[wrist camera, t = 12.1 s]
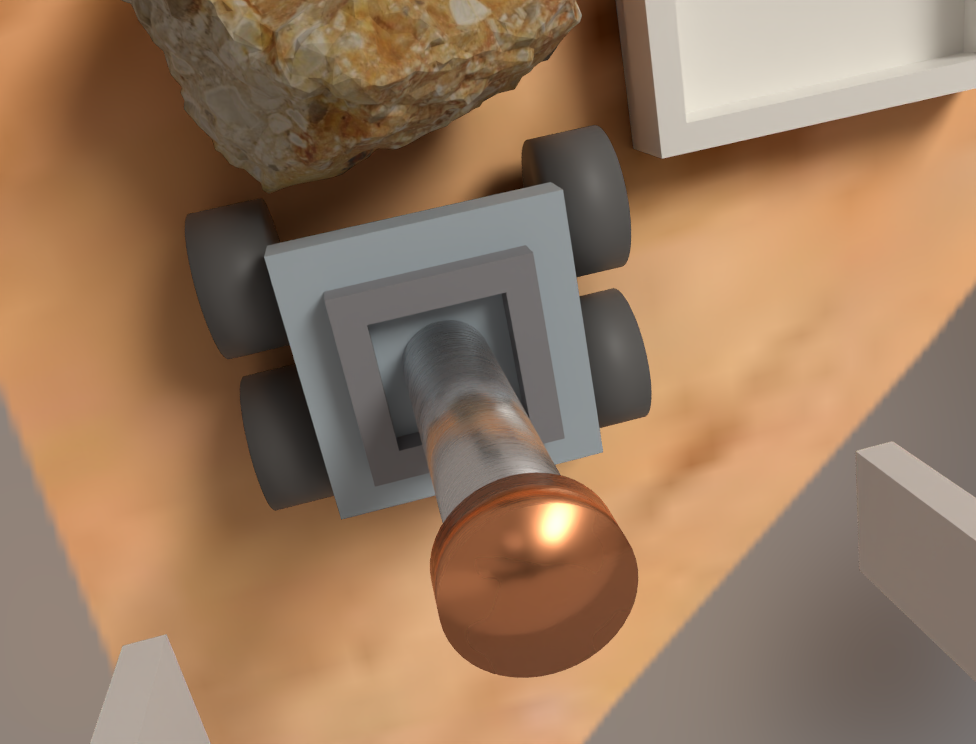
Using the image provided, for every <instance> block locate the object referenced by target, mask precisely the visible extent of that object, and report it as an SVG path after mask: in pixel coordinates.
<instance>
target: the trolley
mask: <svg viewBox="0 0 976 744" xmlns="http://www.w3.org/2000/svg"><path fill="white" fill-rule="evenodd" d="M522 179H523V187H524V188H522V189H518V190H513V191H509V192H504V193H500V194H495V195H491V196H486V197H482V198H478V199H473V200H469V201H464V202H460V203H455V204H451V205H446V206H442V207H437V208H433V209H428V210H424V211H420V212H415V213H411V214H406V215H402V216H397V217H393V218H388V219H384V220H379V221H375V222H371V223H366V224H362V225H357V226H353V227H348V228H344V229H339V230H335V231H330V232H326V233H321V234H317V235H313V236H308V237H304V238H299V239H295V240H290V241H286V242H281V243H280V241H279V237H278V234H277V231H276V228H275V225H274V223H273V220H272V217H271V215H270V212H269V210H268V207H267V205H266V203H265V202H264V200H263V199H262V198H259V199H254V200H250V201H245V202H241V203H236V204H232V205H227V206H222V207H218V208H213V209H209V210H204V211H200V212H195V213H190V214H188V215H187V216H186V220H185V240H186V248H187V254H188V260H189V265H190V269H191V274H192V278H193V282H194V286H195V289H196V293H197V296H198V300H199V303H200V306H201V309H202V312H203V315H204V318H205V320H206V323H207V326H208V328H209V331H210V333H211V335H212V337H213V340H214V342H215V344H216V345H217V347H218V349H219V351H220V352H221V354H222V355H223V356H224V357H225V358H226V359H232V358H237V357H241V356H245V355H249V354H254V353H258V352H262V351H266V350H271V349H275V348H279V347H283V346H287V345H290V347H291V350H292V354H293V357H294V360H295V364H294V365H290V366H285V367H281V368H277V369H273V370H269V371H264V372H260V373H256V374H252V375H248V376H244V377H242V379H241V382H240V403H241V411H242V418H243V424H244V430H245V434H246V439H247V443H248V448H249V452H250V456H251V459H252V463H253V466H254V469H255V472H256V476H257V478H258V481H259V484H260V487H261V489H262V492H263V494H264V496H265V498H266V500H267V502H268V504H269V505H270V507H271V508H272V509H273V510H275V511H276V510H280V509H284V508H288V507H292V506H295V505H299V504H303V503H307V502H311V501H315V500H319V499H323V498H327V497H331V496H335V500H336V503H337V507H338V510H339V513H340V517H341V520H342V519H345V518H349V517H353V516H357V515H361V514H365V513H369V512H373V511H377V510H380V509H384V508H388V507H392V506H396V505H400V504H404V503H408V502H412V501H415V500H419V499H423V498H427V497H431V496H435V491H434V488H433V484H432V480H431V476H430V472H429V469H428V465H427V461H426V457H425V453H424V450H423V446H422V442H421V438H420V434H419V430H418V427H417V423H416V419H415V415H414V411H413V408H412V404H411V400H410V396H409V392H408V389H407V385H406V381H405V377H404V373H403V367H402V361H403V355H404V351H405V348H406V346H407V344H408V343H409V341H410V339H411V338H412V337H413V336H414V335H415V334H416V333H417V332H418V331H419V330H420V329H422V328H423V327H425V326H427V325H429V324H431V323H433V322H437V321H442V320H457V321H461V322H464V323H467V324H469V325H471V326H473V327H474V328H475V329H477V330H478V331H479V332H480V333H481V334H482V335H483V337H484V338H485V340H486V342H487V343H488V345H489V347H490V349H491V351H492V352H493V354H494V356H495V358H496V360H497V361H498V363H499V365H500V367H501V369H502V370H503V372H504V374H505V376H506V378H507V379H508V381H509V383H510V385H511V387H512V388H513V390H514V392H515V394H516V396H517V397H518V399H519V401H520V403H521V405H522V407H523V408H524V410H525V412H526V414H527V416H528V417H529V419H530V421H531V423H532V425H533V426H534V428H535V430H536V432H537V434H538V435H539V437H540V439H541V441H542V443H543V444H544V446H545V448H546V450H547V452H548V453H549V455H550V457H551V459H552V461H553V462H554V464H559V463H563V462H567V461H571V460H575V459H579V458H583V457H586V456H590V455H594V454H598V453H602V452H603V448H602V442H601V435H600V429H599V428H602V427H606V426H610V425H614V424H618V423H622V422H626V421H630V420H633V419H637V418H641V417H645V416H646V415H647V414H648V413H649V410H650V406H651V379H650V371H649V365H648V360H647V355H646V351H645V347H644V343H643V339H642V336H641V333H640V330H639V327H638V324H637V321H636V319H635V316H634V314H633V312H632V310H631V308H630V306H629V304H628V302H627V300H626V299H625V297H624V296H623V295H622V293H621V292H620V291H619V290H617V289H614V288H613V289H608V290H604V291H600V292H596V293H592V294H587V295H583V296H579V291H578V285H577V278H576V277H580V276H584V275H588V274H592V273H597V272H601V271H605V270H609V269H614V268H618V267H622V266H624V265H625V264H626V262H627V260H628V257H629V253H630V247H631V220H630V210H629V203H628V197H627V192H626V187H625V182H624V178H623V174H622V171H621V167H620V164H619V161H618V158H617V156H616V153H615V151H614V148H613V146H612V144H611V142H610V140H609V138H608V136H607V135H606V133H605V132H604V131H603V130H602V129H601V128H600V127H599V126H597V125H593V126H588V127H584V128H579V129H574V130H570V131H565V132H561V133H556V134H552V135H547V136H542V137H538V138H533V139H529V140H526V141H525V142H524V144H523V148H522Z"/></svg>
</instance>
